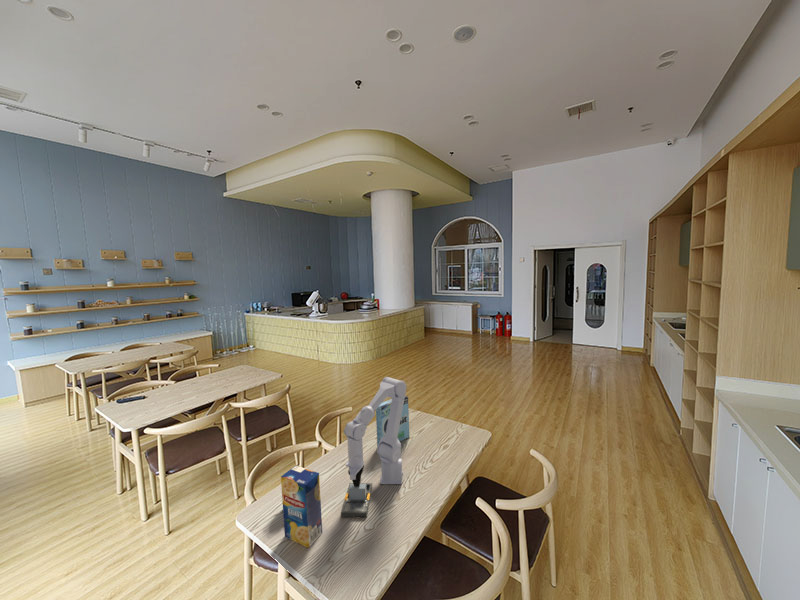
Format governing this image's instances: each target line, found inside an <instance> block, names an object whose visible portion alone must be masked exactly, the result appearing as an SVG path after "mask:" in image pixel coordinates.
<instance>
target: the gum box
mask: <svg viewBox="0 0 800 600" xmlns="http://www.w3.org/2000/svg"><path fill="white" fill-rule="evenodd" d="M391 403H392V399H391V398H390V399H388V400H384V401H383V402H382V403H381V404H380V405H379V407H378V408H377V409H376V410H375V419H376V423H375V424H376V446H377V447H378V445H379V442H380V439H381V438H382V437H384V436H385V434H386V429H387V423H388V418H389V413H390V408H391ZM408 437H409V438H410V413H409V396H407V395H405V399H404V404H403V409H402V415H401V420H400V425H399V431H398V436H397V438H398V440H399V442H400V441H401V442H402V440H403V441H405V440H406V438H407V439H409V438H408ZM404 439H405V440H404ZM401 442H400V443H401ZM377 447H376V448H377Z"/></svg>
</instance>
